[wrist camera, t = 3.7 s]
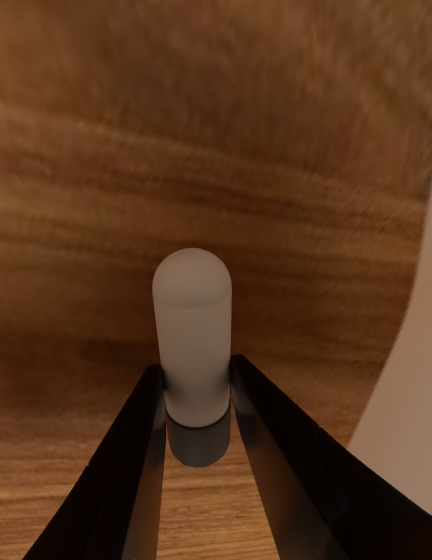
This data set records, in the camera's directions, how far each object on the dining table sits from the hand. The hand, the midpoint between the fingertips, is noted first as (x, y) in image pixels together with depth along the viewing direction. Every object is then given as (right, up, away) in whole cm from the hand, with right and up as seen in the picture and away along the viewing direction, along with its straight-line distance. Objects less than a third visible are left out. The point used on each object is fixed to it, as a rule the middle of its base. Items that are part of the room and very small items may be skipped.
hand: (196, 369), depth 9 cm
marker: (0, +1, +1) cm, 1 cm away
